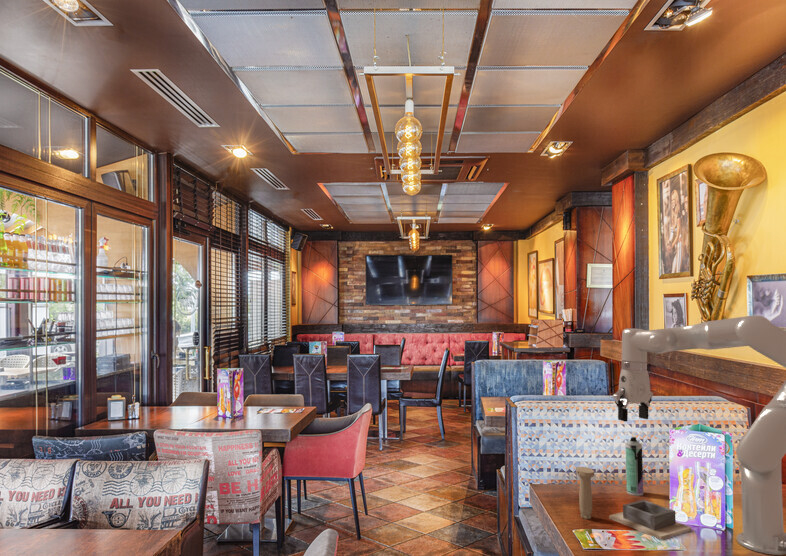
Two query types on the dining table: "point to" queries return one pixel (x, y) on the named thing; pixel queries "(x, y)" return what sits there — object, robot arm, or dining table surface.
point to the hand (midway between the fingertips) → (633, 419)
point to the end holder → (650, 519)
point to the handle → (585, 491)
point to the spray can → (634, 467)
